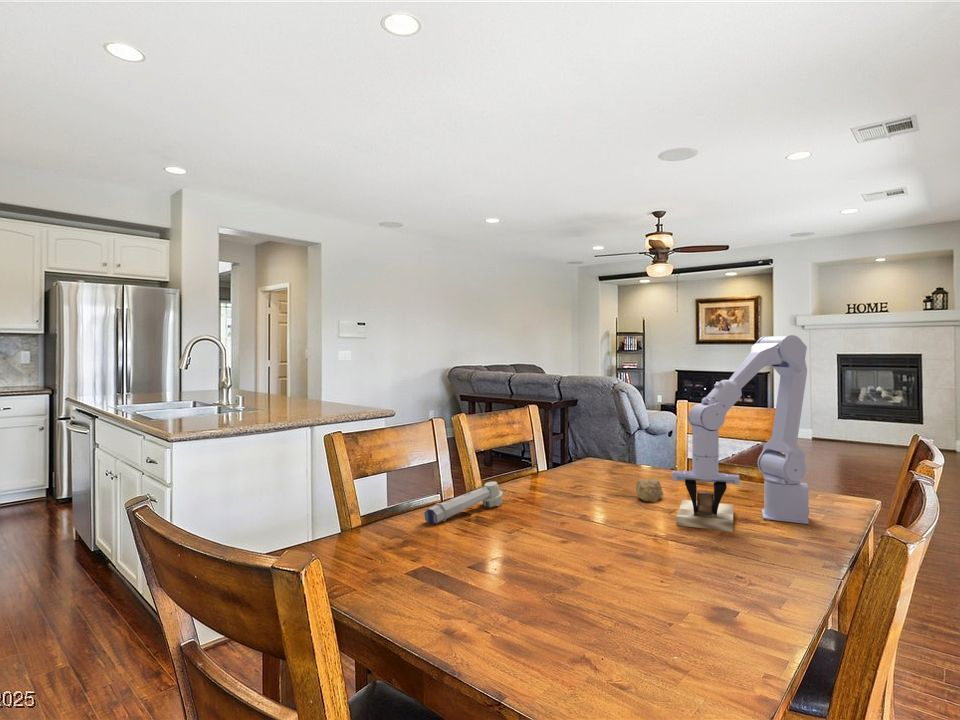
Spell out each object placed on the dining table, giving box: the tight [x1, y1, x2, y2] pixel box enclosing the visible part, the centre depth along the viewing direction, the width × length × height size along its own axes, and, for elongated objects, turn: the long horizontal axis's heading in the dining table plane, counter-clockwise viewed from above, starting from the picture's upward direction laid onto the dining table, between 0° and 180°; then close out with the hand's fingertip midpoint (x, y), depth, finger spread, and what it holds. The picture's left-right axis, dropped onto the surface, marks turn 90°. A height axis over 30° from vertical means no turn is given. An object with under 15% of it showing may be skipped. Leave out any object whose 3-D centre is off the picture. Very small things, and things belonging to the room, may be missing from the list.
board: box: [675, 499, 734, 533], centre depth 134 cm, size 12×16×2 cm
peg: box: [696, 491, 714, 518], centre depth 131 cm, size 4×4×6 cm
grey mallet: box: [423, 481, 504, 526], centre depth 140 cm, size 5×7×25 cm
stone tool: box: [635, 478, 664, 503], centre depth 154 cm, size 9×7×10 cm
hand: (705, 512), depth 131 cm, fingers closed on peg, 4 cm apart
